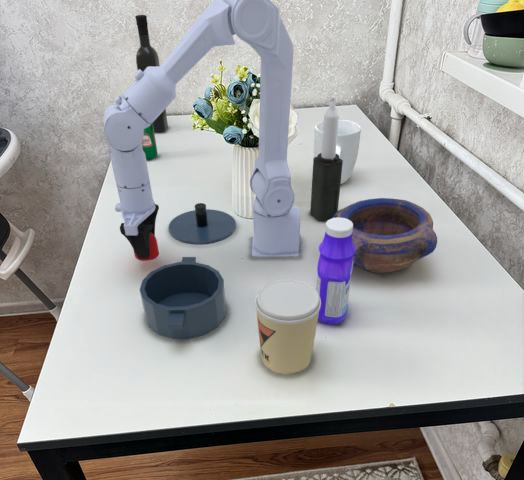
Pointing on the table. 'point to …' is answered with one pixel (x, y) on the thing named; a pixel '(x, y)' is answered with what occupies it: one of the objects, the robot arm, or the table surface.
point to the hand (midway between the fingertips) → (146, 250)
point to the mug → (342, 144)
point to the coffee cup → (287, 324)
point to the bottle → (335, 270)
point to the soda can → (149, 143)
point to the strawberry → (151, 249)
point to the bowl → (389, 233)
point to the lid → (202, 226)
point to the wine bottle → (149, 64)
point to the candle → (327, 170)
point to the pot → (183, 299)
